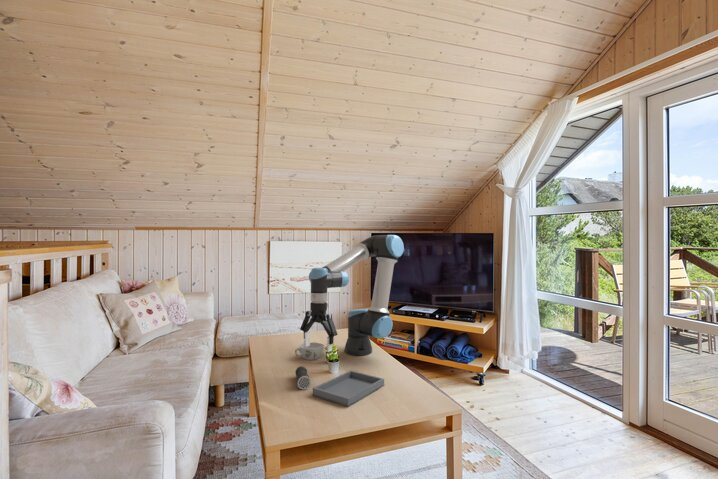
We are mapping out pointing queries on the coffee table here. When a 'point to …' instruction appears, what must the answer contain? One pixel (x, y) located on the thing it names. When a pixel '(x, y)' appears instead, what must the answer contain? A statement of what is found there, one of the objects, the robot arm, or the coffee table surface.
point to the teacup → (310, 351)
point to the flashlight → (305, 380)
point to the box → (348, 388)
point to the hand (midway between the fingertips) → (318, 348)
